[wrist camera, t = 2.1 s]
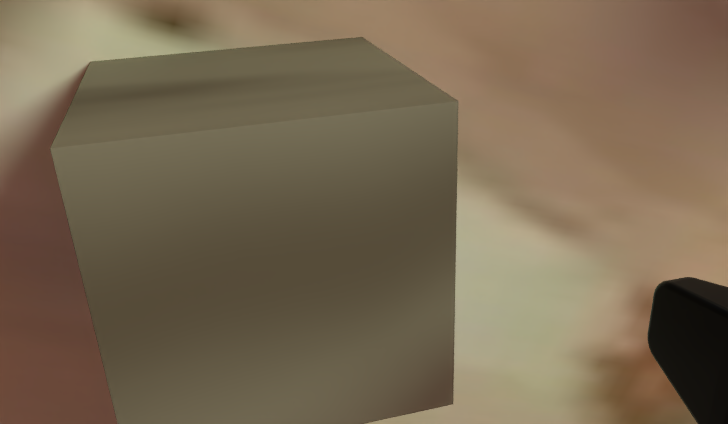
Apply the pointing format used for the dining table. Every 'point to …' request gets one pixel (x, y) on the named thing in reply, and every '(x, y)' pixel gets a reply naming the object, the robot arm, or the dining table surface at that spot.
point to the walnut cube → (265, 233)
